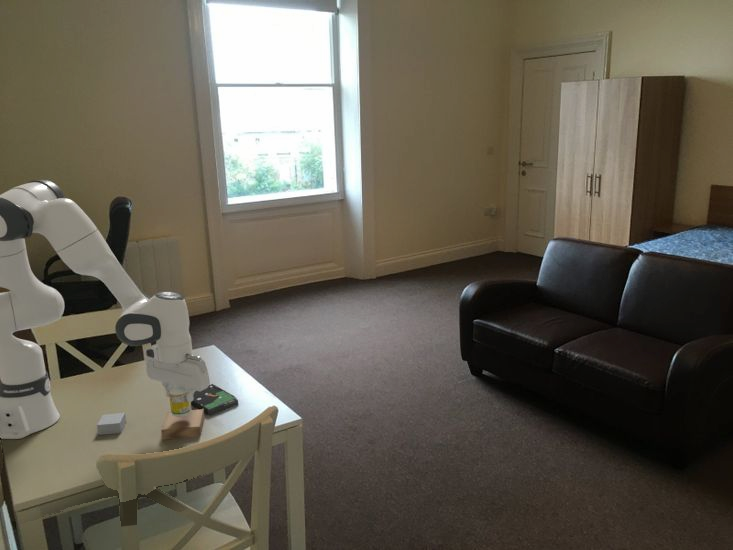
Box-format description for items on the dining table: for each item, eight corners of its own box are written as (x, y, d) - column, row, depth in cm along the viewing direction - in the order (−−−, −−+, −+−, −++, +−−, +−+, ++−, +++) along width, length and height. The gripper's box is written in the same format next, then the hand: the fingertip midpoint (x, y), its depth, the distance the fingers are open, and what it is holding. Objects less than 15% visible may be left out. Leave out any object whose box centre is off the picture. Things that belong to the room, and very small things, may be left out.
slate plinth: (98, 434, 166) (96, 425, 165) (104, 424, 172) (102, 414, 171) (121, 432, 167) (119, 423, 166) (126, 422, 173) (125, 412, 172)
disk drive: (183, 402, 185) (209, 418, 175) (182, 394, 185) (208, 409, 174) (213, 391, 192) (239, 405, 182) (212, 383, 192) (238, 397, 181)
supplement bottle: (186, 417, 163) (183, 384, 161) (168, 416, 164) (164, 384, 162) (194, 408, 169) (191, 376, 166) (176, 407, 169) (173, 375, 167)
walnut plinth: (162, 439, 163) (161, 429, 162) (168, 421, 172) (167, 412, 172) (200, 436, 164) (199, 426, 163) (204, 418, 174) (203, 409, 173)
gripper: (212, 353, 160) (217, 401, 163) (157, 341, 169) (162, 387, 173) (195, 362, 154) (200, 411, 158) (139, 349, 164) (145, 396, 167)
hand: (180, 398), depth 165 cm, fingers closed on supplement bottle, 5 cm apart
